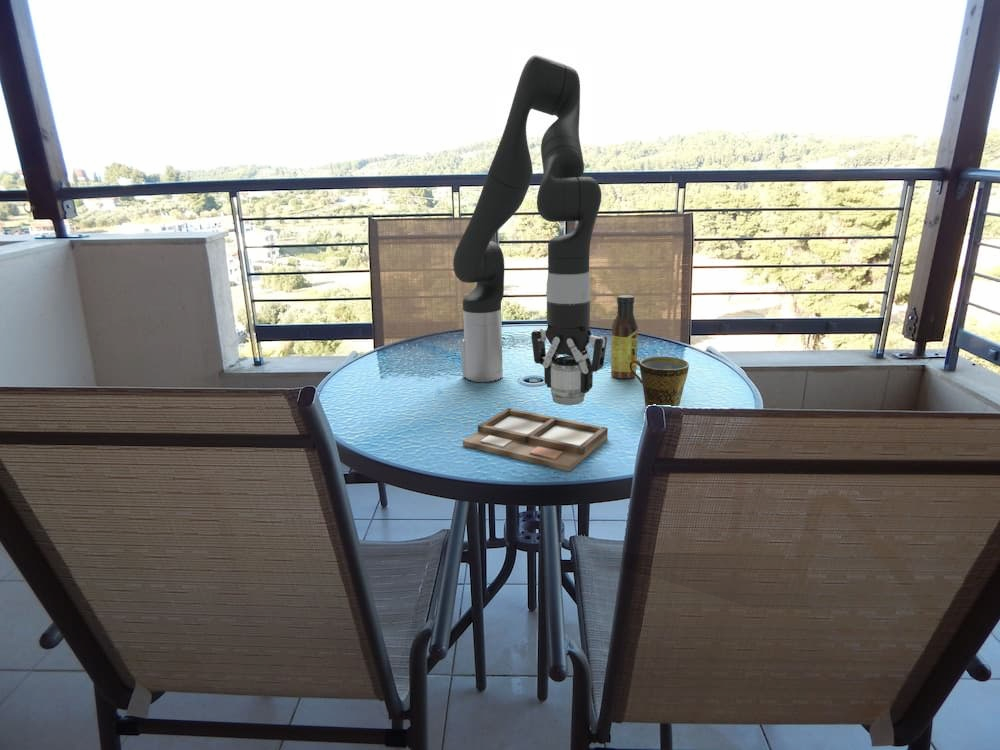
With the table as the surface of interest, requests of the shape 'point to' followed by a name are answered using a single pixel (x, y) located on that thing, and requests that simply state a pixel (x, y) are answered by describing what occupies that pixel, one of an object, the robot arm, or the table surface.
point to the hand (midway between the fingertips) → (567, 388)
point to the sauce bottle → (624, 339)
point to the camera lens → (566, 381)
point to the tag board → (537, 438)
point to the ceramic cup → (662, 379)
